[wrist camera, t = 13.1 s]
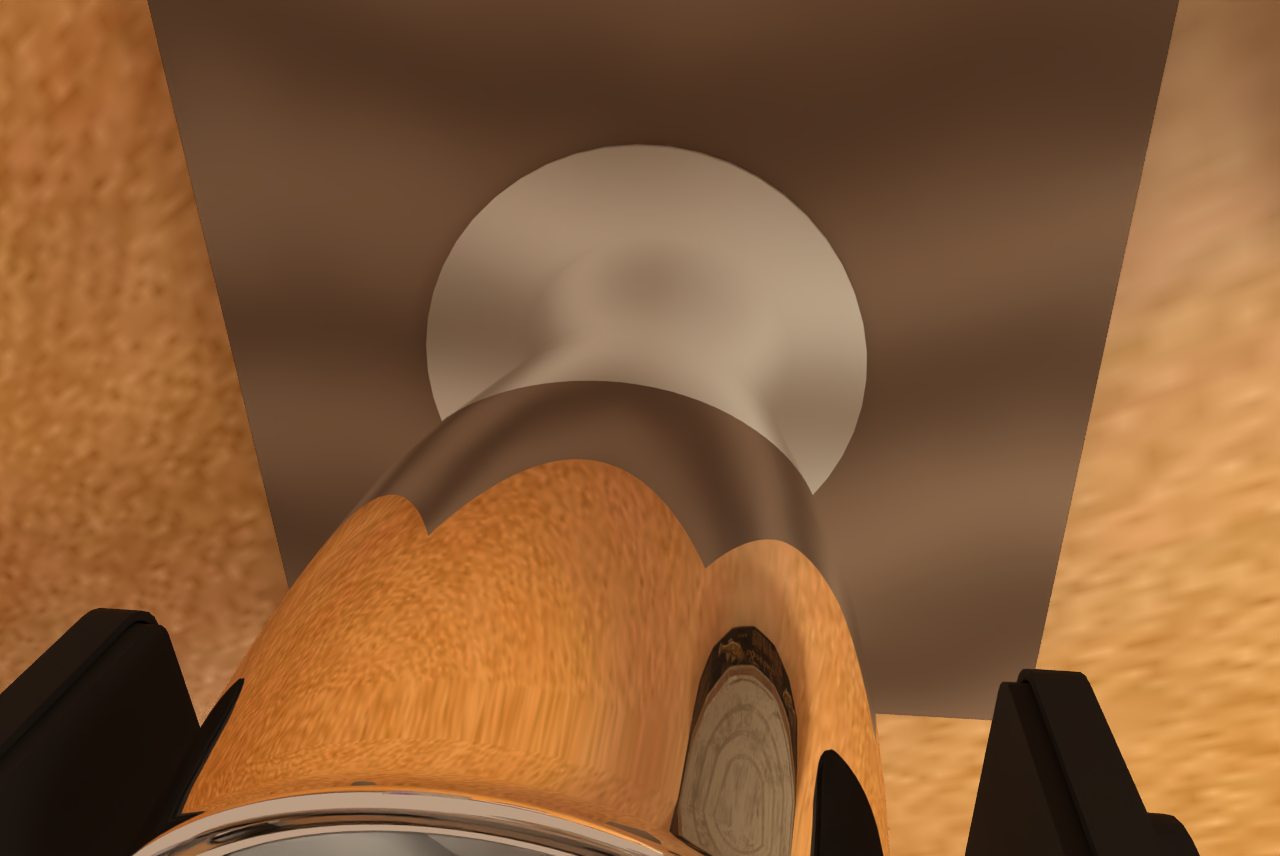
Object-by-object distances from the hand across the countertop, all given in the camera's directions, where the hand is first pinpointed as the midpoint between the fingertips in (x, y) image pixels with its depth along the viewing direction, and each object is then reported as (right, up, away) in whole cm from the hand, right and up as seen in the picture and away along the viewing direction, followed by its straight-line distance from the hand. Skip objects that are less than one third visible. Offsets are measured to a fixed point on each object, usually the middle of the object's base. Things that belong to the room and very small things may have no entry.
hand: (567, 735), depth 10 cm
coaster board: (+1, +6, +12) cm, 13 cm away
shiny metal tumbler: (+1, +5, +10) cm, 12 cm away
